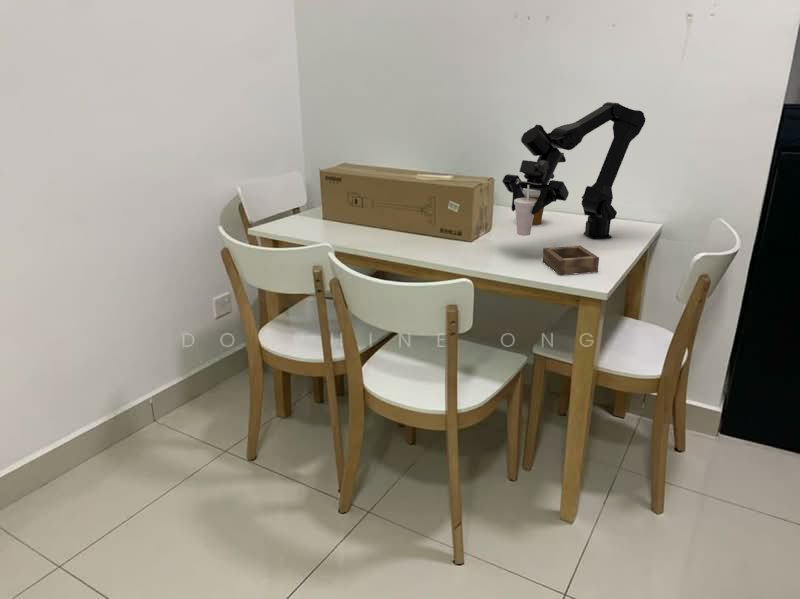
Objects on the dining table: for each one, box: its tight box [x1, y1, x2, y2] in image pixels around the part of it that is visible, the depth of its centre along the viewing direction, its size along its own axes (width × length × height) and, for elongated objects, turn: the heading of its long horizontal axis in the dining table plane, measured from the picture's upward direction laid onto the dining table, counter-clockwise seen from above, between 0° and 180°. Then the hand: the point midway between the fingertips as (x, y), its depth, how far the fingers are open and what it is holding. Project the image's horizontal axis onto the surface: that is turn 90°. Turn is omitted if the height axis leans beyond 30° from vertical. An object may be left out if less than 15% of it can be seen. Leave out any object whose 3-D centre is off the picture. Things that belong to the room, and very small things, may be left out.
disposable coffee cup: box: [522, 188, 545, 226], centre depth 206 cm, size 10×10×12 cm
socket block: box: [542, 244, 600, 276], centre depth 166 cm, size 11×11×4 cm
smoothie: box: [514, 185, 537, 237], centre depth 171 cm, size 6×6×14 cm
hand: (522, 212), depth 170 cm, fingers closed on smoothie, 6 cm apart
